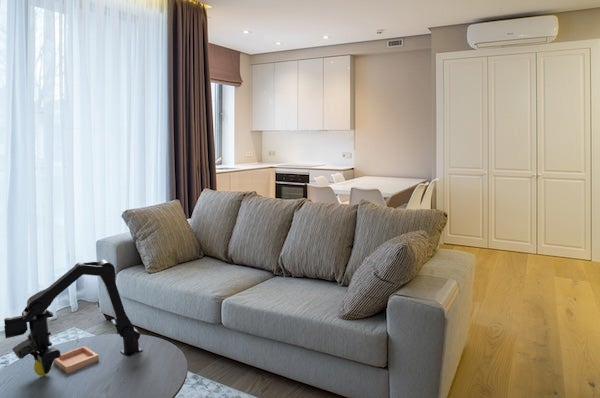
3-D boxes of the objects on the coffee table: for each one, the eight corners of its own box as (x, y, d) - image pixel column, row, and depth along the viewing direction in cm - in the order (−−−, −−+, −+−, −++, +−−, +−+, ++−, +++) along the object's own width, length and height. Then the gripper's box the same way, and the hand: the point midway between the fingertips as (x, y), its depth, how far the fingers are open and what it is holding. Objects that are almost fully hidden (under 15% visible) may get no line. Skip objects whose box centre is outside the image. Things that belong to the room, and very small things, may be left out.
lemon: (49, 370, 165) (47, 350, 163) (54, 375, 161) (52, 355, 160) (33, 376, 161) (31, 355, 160) (37, 381, 157) (35, 361, 156)
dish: (98, 360, 171) (98, 354, 171) (66, 373, 162) (66, 367, 162) (84, 351, 179) (84, 345, 179) (53, 363, 170) (52, 357, 169)
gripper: (4, 331, 158) (9, 371, 160) (23, 346, 146) (28, 389, 148) (38, 321, 167) (42, 359, 169) (59, 334, 155) (63, 375, 157)
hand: (43, 370), depth 160 cm, fingers closed on lemon, 5 cm apart
